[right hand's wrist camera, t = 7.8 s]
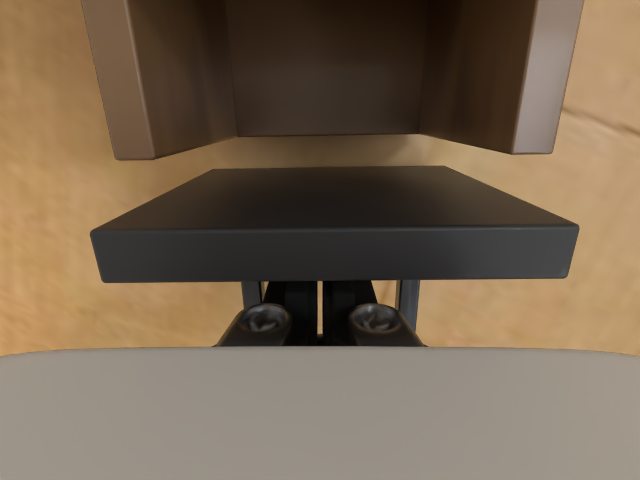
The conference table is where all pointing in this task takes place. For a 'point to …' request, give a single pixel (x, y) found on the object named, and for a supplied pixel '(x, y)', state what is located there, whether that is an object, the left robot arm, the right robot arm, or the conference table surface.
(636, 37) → the conference table surface
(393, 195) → the drawer
